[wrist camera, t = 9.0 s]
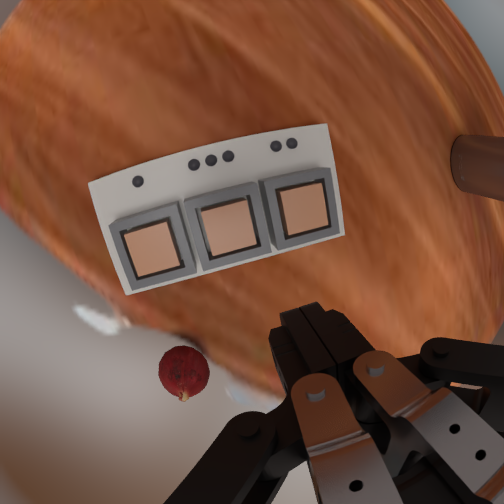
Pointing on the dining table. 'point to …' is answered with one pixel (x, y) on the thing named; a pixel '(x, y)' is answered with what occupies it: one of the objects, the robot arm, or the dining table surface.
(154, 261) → the button one
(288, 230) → the button two
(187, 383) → the onion
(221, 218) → the button three
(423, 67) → the dining table surface
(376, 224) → the dining table surface
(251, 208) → the button panel
